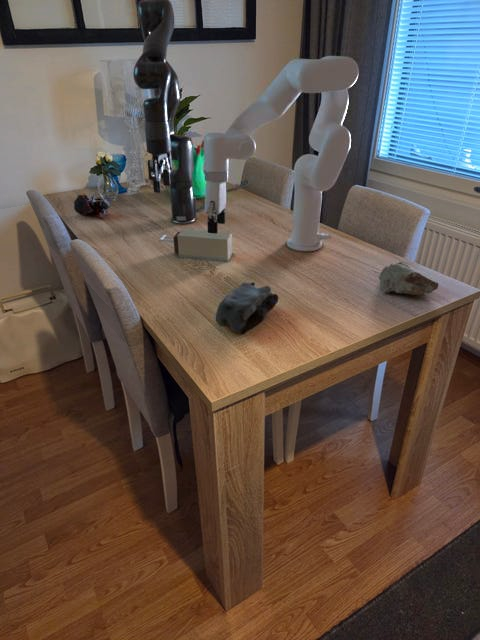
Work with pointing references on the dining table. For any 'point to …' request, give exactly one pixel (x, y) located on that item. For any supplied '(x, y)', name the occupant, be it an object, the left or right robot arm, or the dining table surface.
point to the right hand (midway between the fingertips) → (216, 228)
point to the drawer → (171, 241)
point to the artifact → (405, 280)
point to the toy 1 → (90, 206)
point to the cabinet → (205, 245)
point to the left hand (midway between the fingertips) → (162, 188)
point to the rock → (245, 307)
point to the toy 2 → (197, 171)
